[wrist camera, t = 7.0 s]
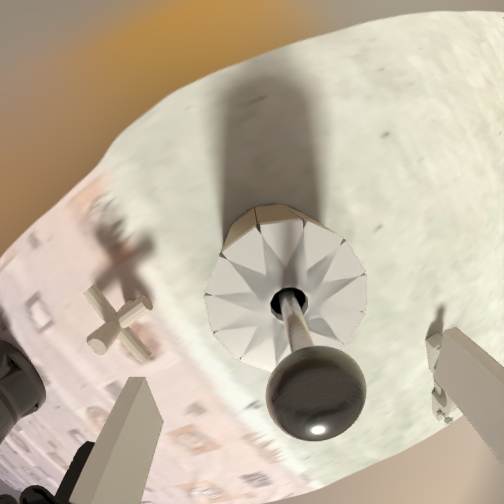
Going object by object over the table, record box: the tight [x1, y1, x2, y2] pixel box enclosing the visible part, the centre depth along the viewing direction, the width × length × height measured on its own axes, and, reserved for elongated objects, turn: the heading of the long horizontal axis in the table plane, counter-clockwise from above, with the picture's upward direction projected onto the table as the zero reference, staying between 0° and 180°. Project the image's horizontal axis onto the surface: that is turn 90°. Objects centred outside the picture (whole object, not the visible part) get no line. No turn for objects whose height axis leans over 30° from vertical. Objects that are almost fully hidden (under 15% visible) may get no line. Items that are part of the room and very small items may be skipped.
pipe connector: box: [83, 284, 153, 363], centre depth 29 cm, size 10×10×10 cm
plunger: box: [266, 287, 366, 441], centre depth 19 cm, size 8×8×22 cm
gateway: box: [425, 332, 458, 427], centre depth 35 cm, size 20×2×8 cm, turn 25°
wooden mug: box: [204, 204, 367, 372], centre depth 26 cm, size 11×14×14 cm
